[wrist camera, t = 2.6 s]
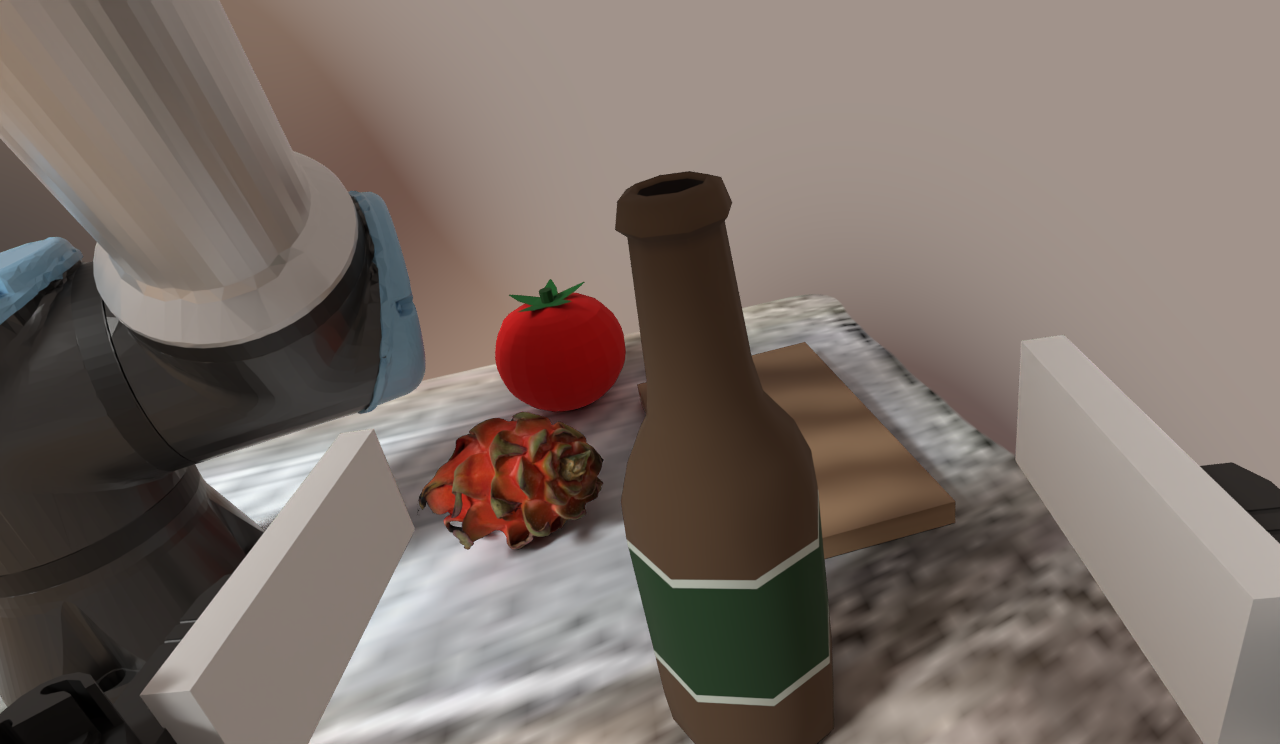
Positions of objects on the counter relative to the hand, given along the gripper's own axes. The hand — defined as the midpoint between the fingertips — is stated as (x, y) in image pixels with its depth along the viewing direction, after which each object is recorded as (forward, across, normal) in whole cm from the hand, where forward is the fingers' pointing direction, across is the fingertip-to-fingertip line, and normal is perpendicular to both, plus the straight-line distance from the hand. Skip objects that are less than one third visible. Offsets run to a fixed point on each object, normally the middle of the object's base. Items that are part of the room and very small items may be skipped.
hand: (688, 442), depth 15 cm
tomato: (+40, -13, -21) cm, 47 cm away
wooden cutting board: (+30, +2, -21) cm, 37 cm away
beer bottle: (+10, 0, -21) cm, 24 cm away
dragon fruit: (+25, -14, -21) cm, 35 cm away
